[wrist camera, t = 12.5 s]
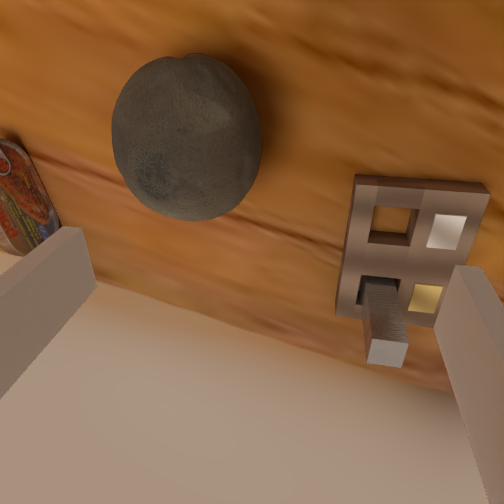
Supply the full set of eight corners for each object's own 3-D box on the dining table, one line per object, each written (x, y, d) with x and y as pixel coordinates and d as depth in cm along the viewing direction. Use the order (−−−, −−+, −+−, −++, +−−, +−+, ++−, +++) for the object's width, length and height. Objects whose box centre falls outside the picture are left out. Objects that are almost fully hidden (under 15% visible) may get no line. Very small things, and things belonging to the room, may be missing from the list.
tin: (68, 236, 54) (28, 269, 47) (49, 238, 55) (7, 270, 48) (18, 129, 47) (-38, 150, 40) (-3, 133, 48) (-61, 153, 41)
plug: (363, 265, 48) (372, 338, 37) (391, 268, 48) (408, 343, 37) (359, 286, 50) (366, 362, 39) (386, 289, 49) (401, 367, 39)
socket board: (355, 174, 42) (356, 185, 39) (481, 182, 40) (491, 195, 38) (335, 301, 52) (335, 317, 49) (436, 313, 50) (442, 330, 47)
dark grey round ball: (131, 133, 44) (52, 180, 32) (189, 15, 37) (115, 16, 24) (231, 203, 47) (194, 272, 34) (303, 106, 40) (290, 149, 27)
